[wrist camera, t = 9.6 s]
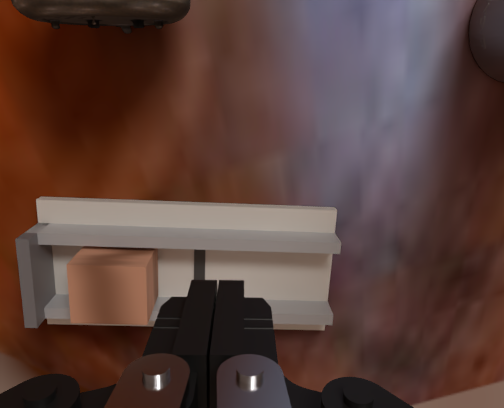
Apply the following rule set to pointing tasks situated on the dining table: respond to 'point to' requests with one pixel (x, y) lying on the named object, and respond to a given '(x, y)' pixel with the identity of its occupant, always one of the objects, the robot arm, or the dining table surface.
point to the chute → (187, 252)
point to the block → (113, 285)
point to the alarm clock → (104, 12)
